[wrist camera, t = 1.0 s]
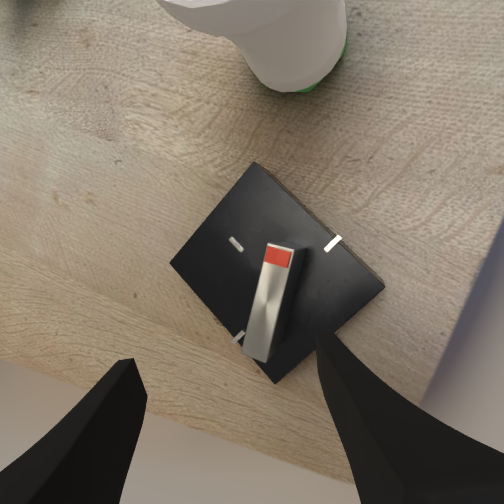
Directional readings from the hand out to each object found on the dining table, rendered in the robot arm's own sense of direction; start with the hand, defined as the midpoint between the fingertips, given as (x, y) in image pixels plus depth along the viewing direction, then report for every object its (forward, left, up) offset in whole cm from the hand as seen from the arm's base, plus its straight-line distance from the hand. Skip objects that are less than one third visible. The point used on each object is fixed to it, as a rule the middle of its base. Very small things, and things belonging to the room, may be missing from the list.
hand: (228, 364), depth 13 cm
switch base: (+3, 0, -15) cm, 15 cm away
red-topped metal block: (+1, 0, -12) cm, 12 cm away
